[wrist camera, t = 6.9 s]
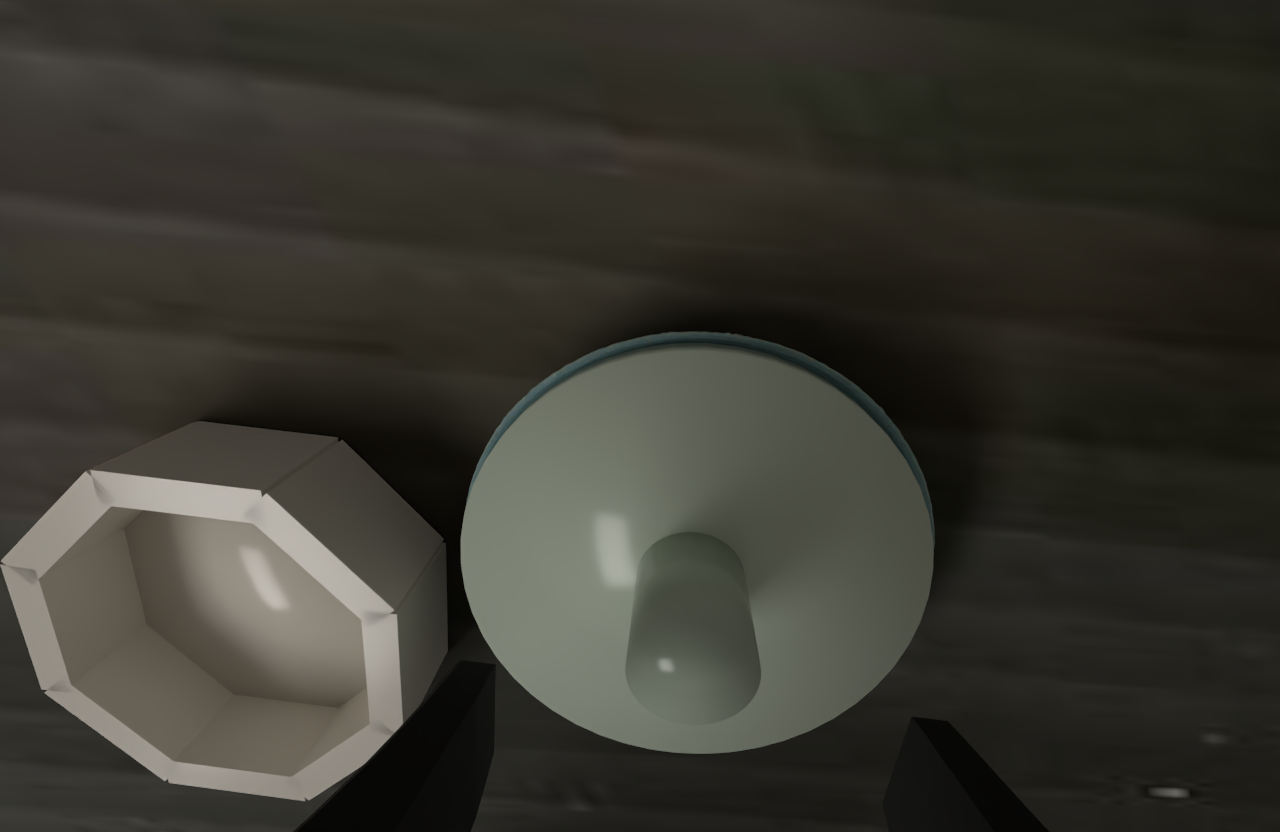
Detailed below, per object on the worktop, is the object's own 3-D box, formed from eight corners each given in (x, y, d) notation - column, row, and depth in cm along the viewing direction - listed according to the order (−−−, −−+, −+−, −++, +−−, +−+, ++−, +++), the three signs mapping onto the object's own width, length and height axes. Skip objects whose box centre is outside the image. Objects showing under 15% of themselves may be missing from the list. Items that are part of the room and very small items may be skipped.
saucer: (445, 605, 19) (415, 657, 16) (561, 242, 15) (541, 250, 12) (786, 724, 19) (800, 789, 17) (986, 412, 15) (1036, 447, 13)
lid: (999, 616, 15) (1100, 747, 11) (638, 782, 18) (628, 929, 14) (763, 237, 12) (798, 251, 9) (381, 505, 15) (287, 600, 11)
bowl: (513, 606, 18) (480, 688, 15) (309, 747, 21) (246, 841, 18) (258, 357, 16) (158, 394, 13) (65, 551, 18) (-56, 620, 15)
